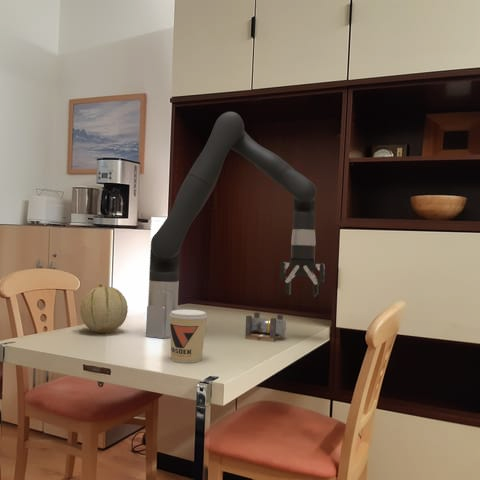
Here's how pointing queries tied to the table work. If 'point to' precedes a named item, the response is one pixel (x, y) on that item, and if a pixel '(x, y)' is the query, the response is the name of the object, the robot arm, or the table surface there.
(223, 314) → the table surface
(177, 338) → the coffee cup
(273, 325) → the cylinder holder stand
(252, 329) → the grey cylinder
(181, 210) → the robot arm
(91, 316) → the cantaloupe
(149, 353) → the table surface
